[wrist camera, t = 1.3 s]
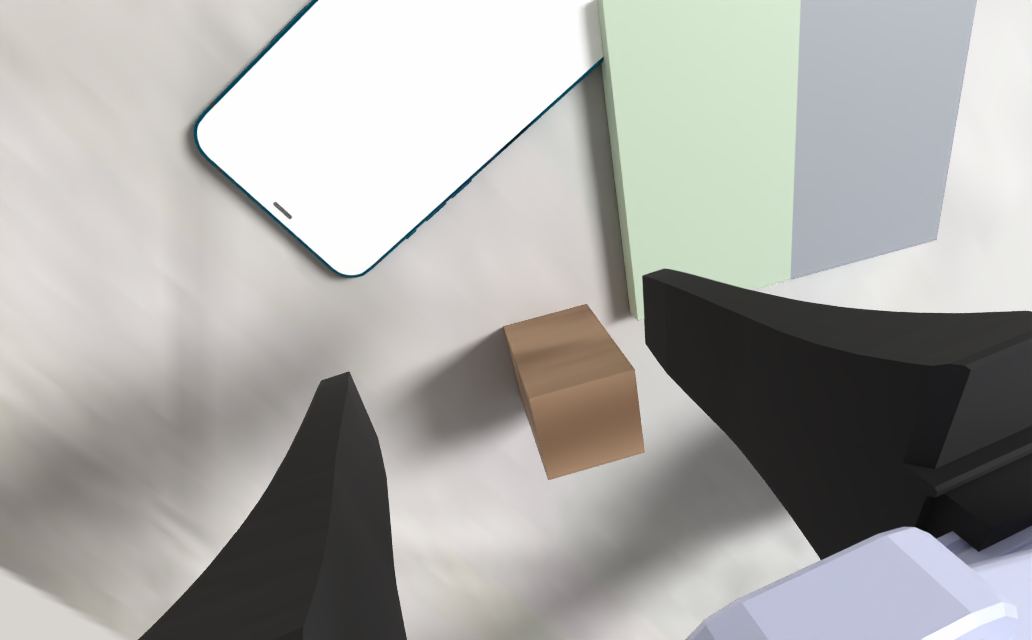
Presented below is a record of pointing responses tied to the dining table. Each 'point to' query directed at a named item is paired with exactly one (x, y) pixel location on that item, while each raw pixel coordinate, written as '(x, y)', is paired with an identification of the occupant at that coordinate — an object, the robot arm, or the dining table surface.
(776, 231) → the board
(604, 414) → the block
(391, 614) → the robot arm
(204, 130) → the smartphone
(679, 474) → the dining table surface
